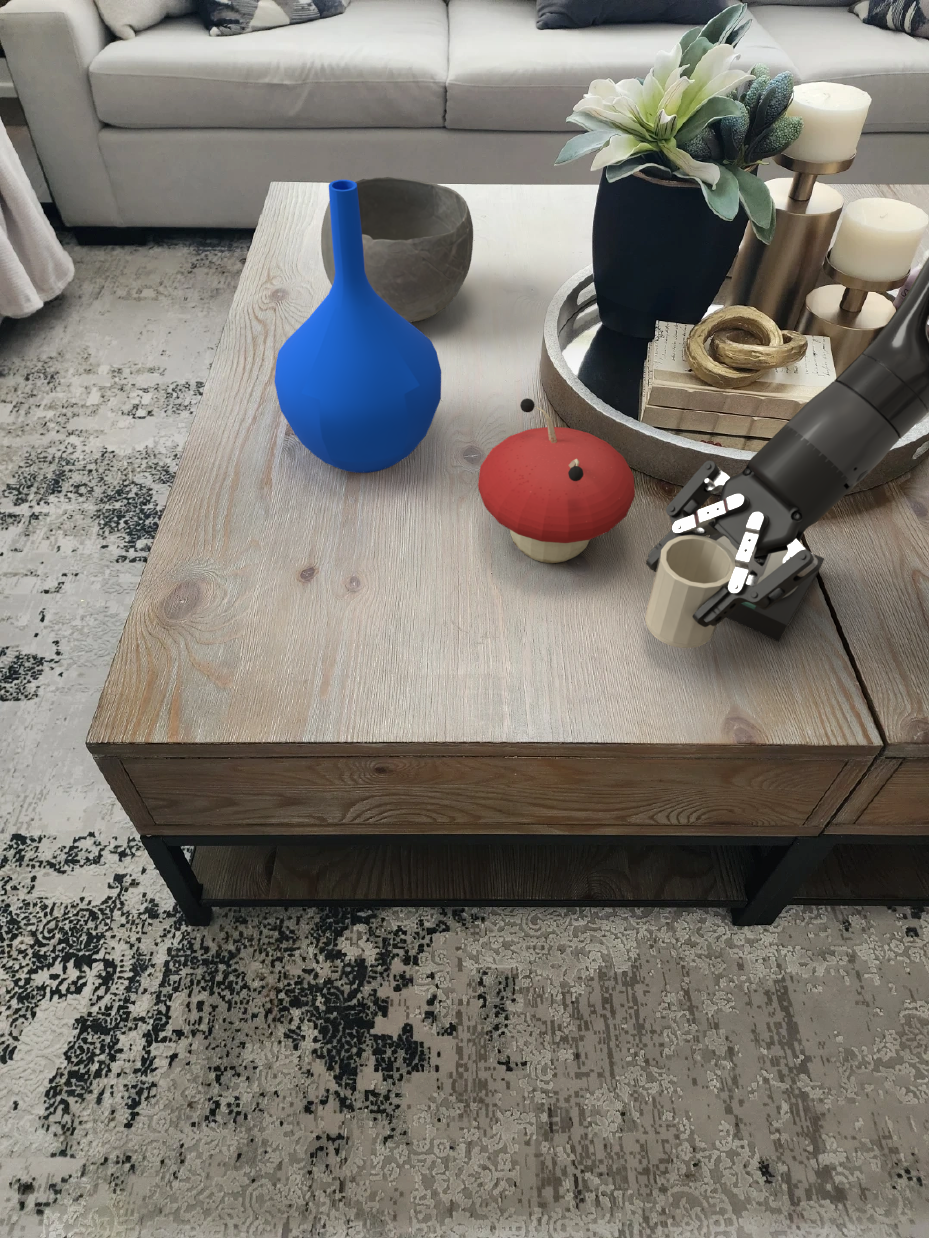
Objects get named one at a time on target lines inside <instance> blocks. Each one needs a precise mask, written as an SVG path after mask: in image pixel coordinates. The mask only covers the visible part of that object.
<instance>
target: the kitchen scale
mask: <svg viewBox="0 0 929 1238" xmlns="http://www.w3.org/2000/svg"><path fill="white" fill-rule="evenodd" d="M707 537H708V538H711V539H713V540H716V541H718V542H720V543H721V544H723V545H724V546H725V547H726V548H728V549H729V550H730V551H731V553H732V554H733V556H734V558H735V559H736V556H737V553H738V550H737V549H736V548H735V547H734V546H733V545H732V544H731V542H730V540H729V539H728V538H726V537H725V536H724V535H723V534H721V533H720V534H717V535H708V536H707ZM787 553H788V550H785V551H780V552H776V553H772V554H771V556H770V559H769V562H768V564H767V567H766V570H765V572H764V574H763V576H761V577H760V578H759V580H758V583H759V582H761V581H762V580H763V579H764V578H766V577H767V576H768V575H769V574H771V573H772V572H773V571H774V570H776V569H777V568H778V567H779V566H781V565H782V564H783V558H784V557H785V555H786V554H787ZM812 554H813V555H814V556H815V557H816V558H817V559H818V560H819V562H820V568H819V569H818V570H817V571H816V572H815V573H814V574H812V575H811V576H810V577H808V578H807V579H806V580H805V581H803V582H802V583H801V584H800V585H798V586H797V587H796V588H794V589H793V590H792V591H791V592H789V593H788V594H787V595H785V596H784V597H783V598H782V599H780V600H779V601H778V602H777V603H775V604H774V605H773V606H771V607H770V608H769V609H766V610H763V609H761V608H759V607H758V606H756V605H753V604H751V603H749V602H743V603H741V604H740V605H739V606H737V607H736V608H735V609H734V610H733V611H732V612H731V613H730V614H729V615H727V617H726V618H725V619H728V620H730V621H732V622H735V623H737V624H739V625H742V626H743V627H746V628H748V629H750V630H752V631H754V632H756V633H759V634H761V635H763V636H765V637H766V638H769V639H771V640H774V641H776V642H780V641H781V639H782V638H783V636H784V634H785V632H786V630H788V627H789V625H790V624H791V621H792V620H793V618H794V616H795V614H796V613H797V611H798V609H799V607H800V606H801V604H802V603H803V601H804V599H805V597H806V595H807V593H808V592H809V590H810V588H811V586H812V585H813V584H814V582H815V580H816V578H817V576H818V574H819V572H820V570H821V568H822V566H823V563H824V561H825V558H824V557H822V556H819V555H817V554H815V553H812ZM758 583H757V584H758Z"/></svg>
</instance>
